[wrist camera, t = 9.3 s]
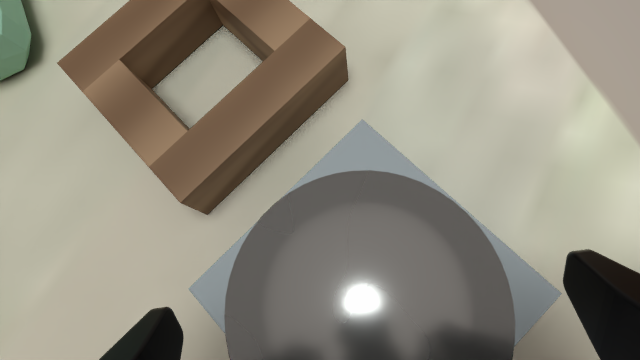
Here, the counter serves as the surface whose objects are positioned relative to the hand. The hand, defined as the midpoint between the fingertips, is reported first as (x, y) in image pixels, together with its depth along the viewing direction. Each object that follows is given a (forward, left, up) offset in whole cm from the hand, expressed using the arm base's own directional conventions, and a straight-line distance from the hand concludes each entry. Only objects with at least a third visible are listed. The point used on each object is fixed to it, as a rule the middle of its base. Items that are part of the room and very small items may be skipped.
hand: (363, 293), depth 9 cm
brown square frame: (+13, -2, -9) cm, 16 cm away
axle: (0, 0, -9) cm, 9 cm away
